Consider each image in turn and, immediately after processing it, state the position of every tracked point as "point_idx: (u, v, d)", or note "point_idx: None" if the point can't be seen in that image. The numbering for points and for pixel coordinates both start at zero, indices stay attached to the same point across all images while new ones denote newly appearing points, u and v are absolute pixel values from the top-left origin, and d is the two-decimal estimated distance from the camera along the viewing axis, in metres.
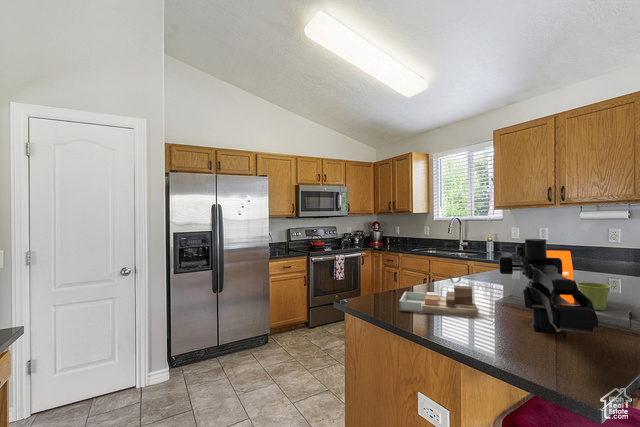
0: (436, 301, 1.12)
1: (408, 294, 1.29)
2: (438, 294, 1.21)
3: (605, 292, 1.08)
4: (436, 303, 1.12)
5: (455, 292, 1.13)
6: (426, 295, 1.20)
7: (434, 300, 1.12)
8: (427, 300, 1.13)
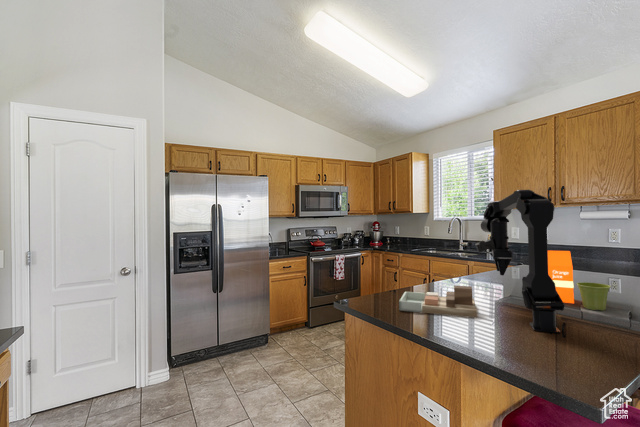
0: (436, 301, 1.12)
1: (408, 294, 1.29)
2: (438, 294, 1.21)
3: (605, 292, 1.08)
4: (436, 303, 1.12)
5: (455, 292, 1.13)
6: (426, 295, 1.20)
7: (434, 300, 1.12)
8: (427, 300, 1.13)
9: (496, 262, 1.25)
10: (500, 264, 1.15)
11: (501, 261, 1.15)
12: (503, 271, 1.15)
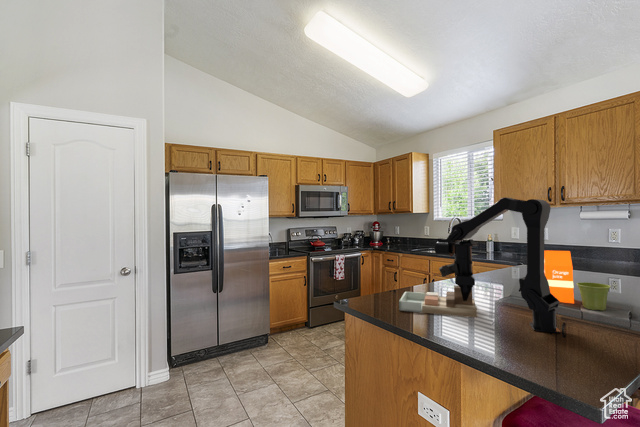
0: (436, 301, 1.12)
1: (408, 294, 1.29)
2: (438, 294, 1.21)
3: (605, 292, 1.08)
4: (436, 303, 1.12)
5: (455, 292, 1.13)
6: (426, 295, 1.20)
7: (434, 300, 1.12)
8: (427, 300, 1.13)
9: None
10: (463, 289, 1.11)
11: (464, 286, 1.11)
12: (466, 296, 1.11)
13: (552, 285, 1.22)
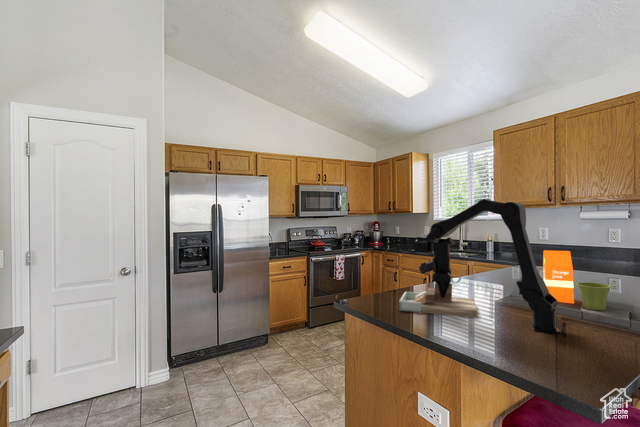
0: (423, 299, 1.14)
1: (408, 294, 1.29)
2: (425, 292, 1.22)
3: (605, 292, 1.08)
4: (424, 301, 1.14)
5: (435, 288, 1.16)
6: (415, 298, 1.22)
7: (421, 299, 1.14)
8: None
9: None
10: (440, 286, 1.14)
11: (441, 283, 1.14)
12: (443, 293, 1.14)
13: (552, 285, 1.22)
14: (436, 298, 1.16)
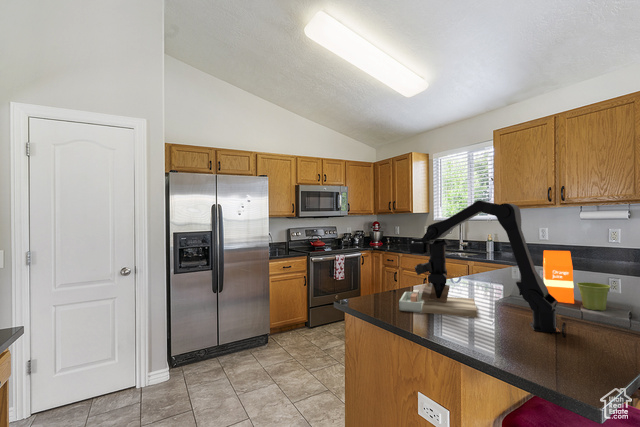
0: (412, 297, 1.15)
1: (408, 294, 1.29)
2: None
3: (605, 292, 1.08)
4: (414, 297, 1.15)
5: (433, 288, 1.16)
6: None
7: (411, 299, 1.16)
8: None
9: None
10: (436, 287, 1.14)
11: (437, 284, 1.14)
12: (439, 294, 1.14)
13: (552, 285, 1.22)
14: (431, 297, 1.16)
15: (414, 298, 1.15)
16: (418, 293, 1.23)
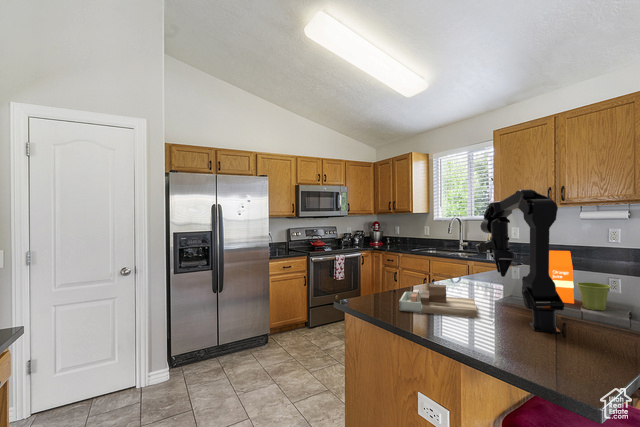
0: (412, 297, 1.15)
1: (408, 294, 1.29)
2: None
3: (605, 292, 1.08)
4: (414, 297, 1.15)
5: (430, 290, 1.17)
6: None
7: (411, 299, 1.16)
8: None
9: (497, 263, 1.23)
10: (501, 265, 1.13)
11: (502, 262, 1.13)
12: (504, 272, 1.14)
13: None
14: (431, 300, 1.16)
15: (414, 298, 1.15)
16: (418, 293, 1.23)
